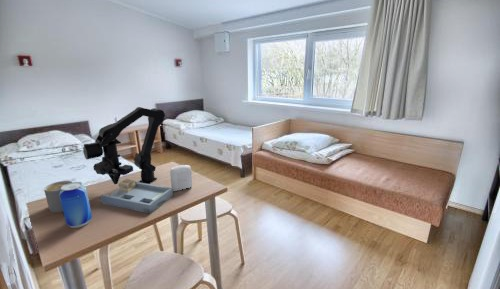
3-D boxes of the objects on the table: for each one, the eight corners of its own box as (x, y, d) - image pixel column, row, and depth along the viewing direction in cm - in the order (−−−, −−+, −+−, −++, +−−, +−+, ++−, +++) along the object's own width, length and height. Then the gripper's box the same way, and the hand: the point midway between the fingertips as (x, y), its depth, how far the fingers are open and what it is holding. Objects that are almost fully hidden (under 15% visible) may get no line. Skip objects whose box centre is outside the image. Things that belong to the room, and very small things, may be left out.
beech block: (127, 186, 125) (126, 178, 123) (135, 187, 123) (134, 180, 122) (119, 190, 120) (118, 183, 119) (128, 192, 119) (127, 184, 117)
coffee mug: (46, 206, 110) (41, 186, 107) (73, 198, 117) (69, 178, 114) (54, 218, 101) (49, 196, 98) (83, 208, 108) (78, 187, 105)
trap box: (128, 187, 127) (127, 180, 126) (172, 195, 120) (172, 188, 119) (102, 203, 113) (100, 195, 112) (150, 213, 105) (149, 205, 104)
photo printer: (191, 184, 131) (189, 162, 128) (193, 188, 128) (191, 165, 124) (170, 188, 127) (168, 165, 123) (172, 192, 123) (170, 168, 119)
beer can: (64, 231, 94) (55, 192, 89) (69, 219, 101) (61, 183, 96) (90, 226, 97) (82, 188, 92) (93, 214, 104) (86, 179, 100)
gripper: (80, 157, 114) (86, 188, 119) (112, 162, 108) (118, 194, 113) (100, 149, 124) (106, 178, 129) (131, 154, 119) (136, 184, 123)
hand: (115, 184), depth 123 cm, fingers closed
